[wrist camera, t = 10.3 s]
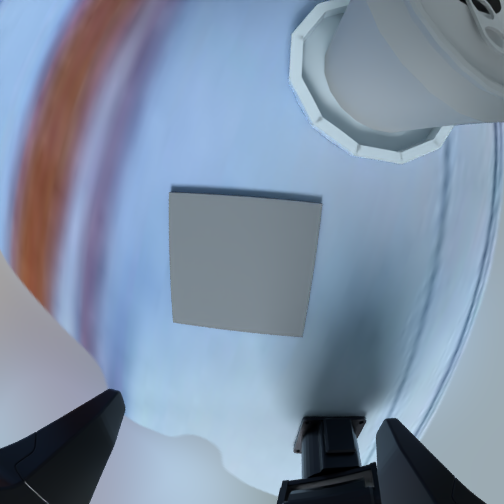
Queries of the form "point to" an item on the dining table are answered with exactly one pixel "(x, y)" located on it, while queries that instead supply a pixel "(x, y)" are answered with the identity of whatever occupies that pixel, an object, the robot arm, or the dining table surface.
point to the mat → (242, 261)
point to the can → (419, 63)
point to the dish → (327, 108)
